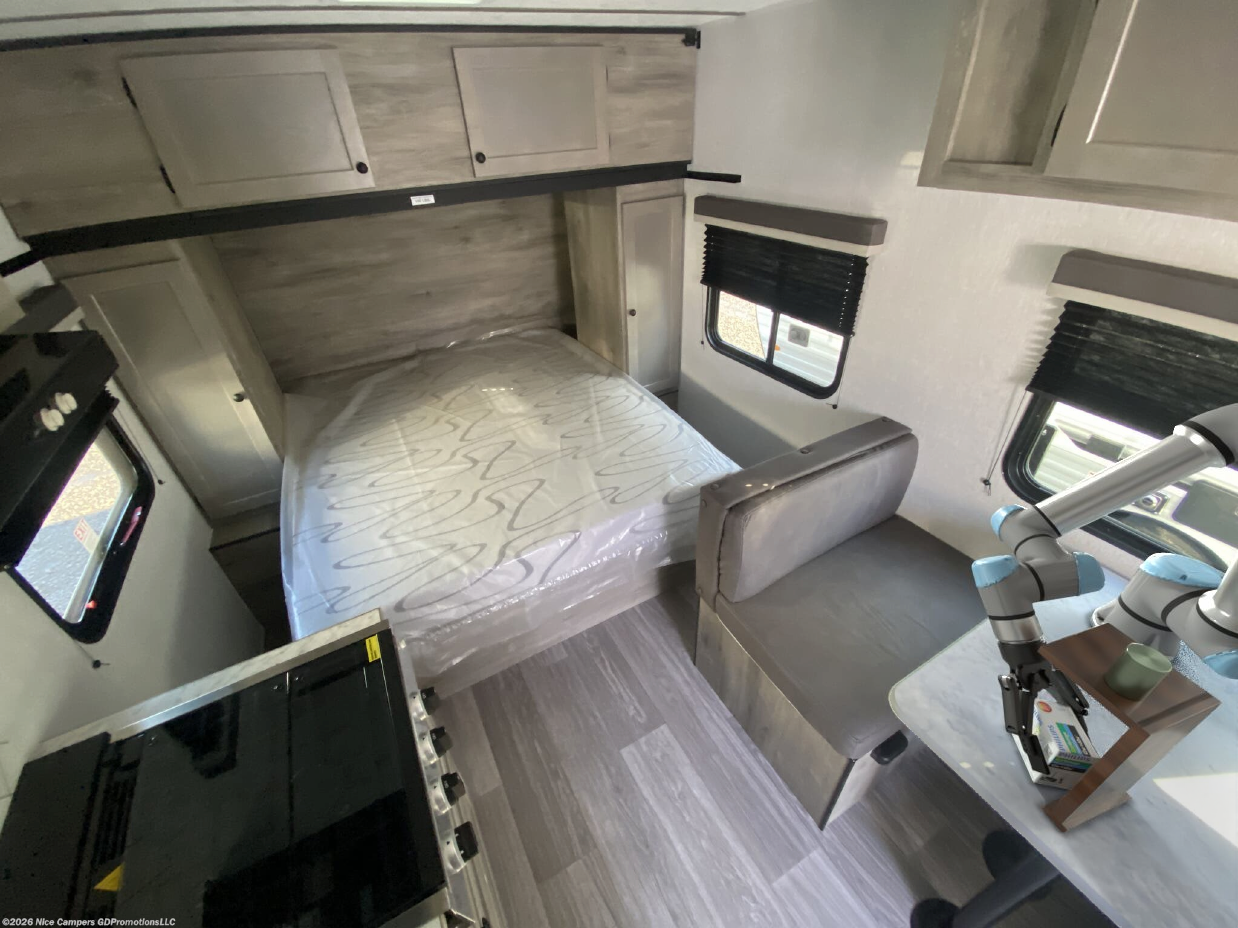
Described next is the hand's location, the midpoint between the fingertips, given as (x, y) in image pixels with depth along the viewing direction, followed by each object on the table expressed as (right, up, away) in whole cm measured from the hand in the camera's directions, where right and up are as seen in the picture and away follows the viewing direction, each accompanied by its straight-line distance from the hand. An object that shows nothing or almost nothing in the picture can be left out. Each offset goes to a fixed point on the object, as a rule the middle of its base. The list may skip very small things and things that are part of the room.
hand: (1064, 761), depth 93 cm
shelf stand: (0, -3, +3) cm, 4 cm away
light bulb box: (-1, -2, +5) cm, 5 cm away
